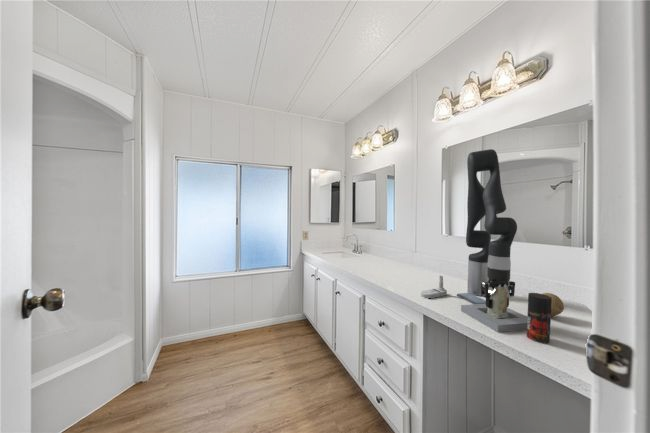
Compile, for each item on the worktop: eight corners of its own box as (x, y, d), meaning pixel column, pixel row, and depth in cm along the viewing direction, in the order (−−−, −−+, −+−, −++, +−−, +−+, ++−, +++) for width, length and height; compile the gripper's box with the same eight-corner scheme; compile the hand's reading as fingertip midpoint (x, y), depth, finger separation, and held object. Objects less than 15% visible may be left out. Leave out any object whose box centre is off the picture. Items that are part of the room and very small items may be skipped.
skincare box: (498, 319, 94) (499, 288, 93) (486, 314, 98) (487, 285, 97) (507, 315, 97) (508, 286, 96) (495, 311, 101) (496, 282, 100)
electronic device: (418, 277, 122) (440, 274, 128) (418, 296, 123) (440, 292, 128) (426, 280, 117) (449, 276, 123) (426, 300, 118) (449, 295, 123)
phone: (468, 294, 124) (469, 292, 124) (490, 305, 111) (490, 302, 111) (456, 295, 123) (457, 293, 123) (477, 305, 110) (477, 303, 110)
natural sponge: (566, 324, 93) (568, 299, 93) (536, 318, 98) (537, 294, 98) (559, 315, 101) (560, 292, 101) (532, 310, 106) (533, 288, 105)
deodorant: (522, 334, 85) (523, 292, 85) (537, 333, 86) (539, 292, 85) (538, 343, 80) (540, 299, 79) (554, 343, 80) (556, 298, 80)
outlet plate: (496, 308, 108) (496, 302, 108) (538, 328, 90) (538, 321, 90) (461, 310, 105) (461, 305, 104) (497, 332, 87) (497, 325, 87)
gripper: (505, 264, 102) (503, 302, 102) (475, 265, 99) (474, 304, 100) (522, 268, 94) (521, 309, 95) (491, 269, 92) (489, 312, 92)
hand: (497, 307), depth 97 cm, fingers closed on skincare box, 7 cm apart
